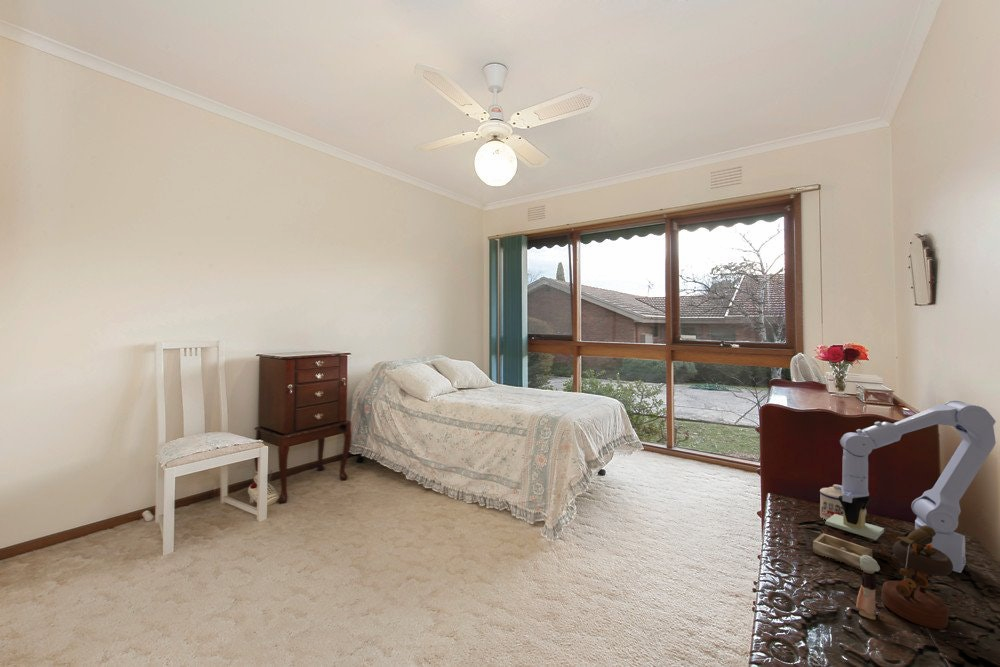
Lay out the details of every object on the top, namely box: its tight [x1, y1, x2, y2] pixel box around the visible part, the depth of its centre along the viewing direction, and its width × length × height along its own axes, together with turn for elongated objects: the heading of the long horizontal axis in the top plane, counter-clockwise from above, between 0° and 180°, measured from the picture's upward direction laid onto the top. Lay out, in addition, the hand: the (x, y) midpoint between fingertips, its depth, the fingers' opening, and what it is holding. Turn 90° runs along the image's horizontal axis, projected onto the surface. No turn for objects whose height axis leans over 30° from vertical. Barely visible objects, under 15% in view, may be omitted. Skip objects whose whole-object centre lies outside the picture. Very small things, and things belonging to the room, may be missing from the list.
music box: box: [880, 526, 953, 630], centre depth 92 cm, size 15×11×20 cm
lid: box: [824, 509, 885, 541], centre depth 121 cm, size 11×8×6 cm
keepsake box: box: [812, 532, 873, 571], centre depth 114 cm, size 11×8×3 cm
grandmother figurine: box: [855, 555, 881, 620], centre depth 91 cm, size 8×4×13 cm, turn 141°
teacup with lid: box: [819, 484, 867, 521], centre depth 136 cm, size 12×9×12 cm
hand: (854, 521), depth 121 cm, fingers closed on lid, 4 cm apart
